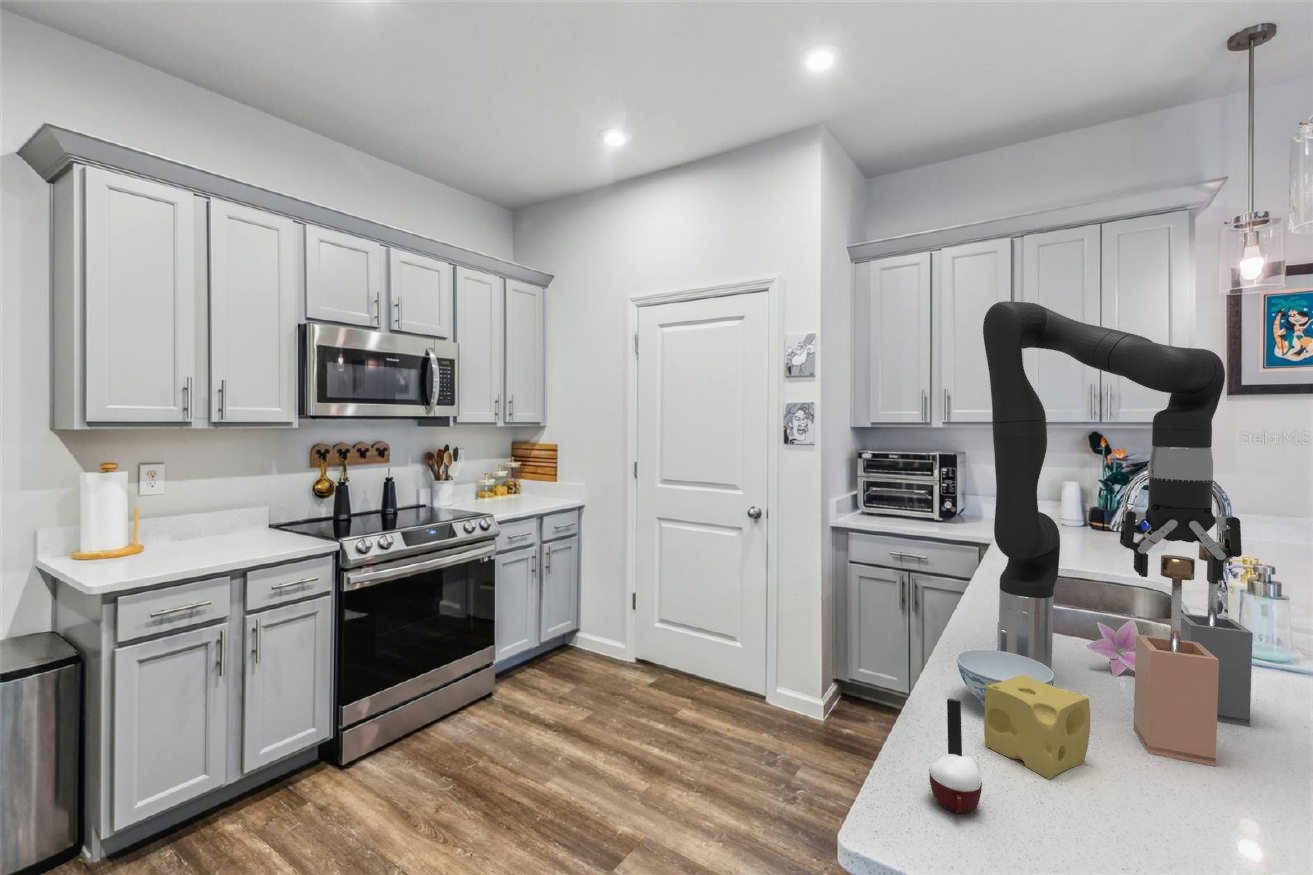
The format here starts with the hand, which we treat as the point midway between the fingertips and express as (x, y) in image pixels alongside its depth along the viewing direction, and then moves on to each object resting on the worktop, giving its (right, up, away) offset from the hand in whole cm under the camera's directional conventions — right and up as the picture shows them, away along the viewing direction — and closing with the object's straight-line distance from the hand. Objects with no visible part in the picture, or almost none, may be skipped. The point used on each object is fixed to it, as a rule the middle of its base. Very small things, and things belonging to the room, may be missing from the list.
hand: (1177, 579), depth 94 cm
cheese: (-23, -27, -1) cm, 36 cm away
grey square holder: (+17, -26, +13) cm, 34 cm away
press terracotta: (0, -27, +1) cm, 27 cm away
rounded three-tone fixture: (-42, -27, -14) cm, 51 cm away
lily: (+14, -26, +30) cm, 42 cm away
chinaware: (-20, -26, +13) cm, 35 cm away
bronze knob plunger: (0, -13, 0) cm, 13 cm away
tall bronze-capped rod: (+17, -13, +12) cm, 24 cm away
